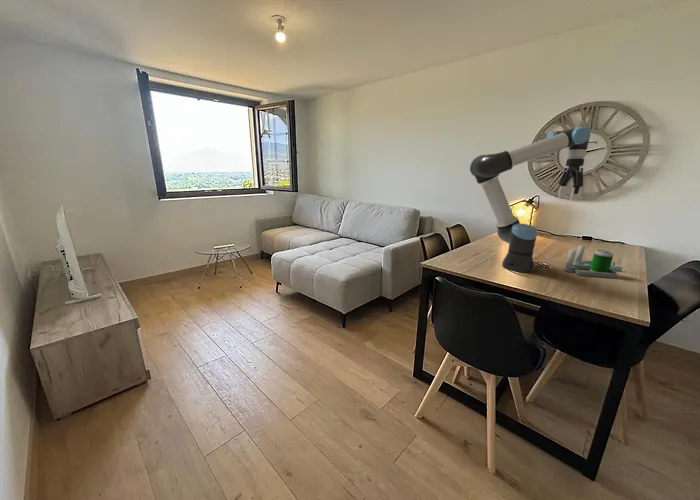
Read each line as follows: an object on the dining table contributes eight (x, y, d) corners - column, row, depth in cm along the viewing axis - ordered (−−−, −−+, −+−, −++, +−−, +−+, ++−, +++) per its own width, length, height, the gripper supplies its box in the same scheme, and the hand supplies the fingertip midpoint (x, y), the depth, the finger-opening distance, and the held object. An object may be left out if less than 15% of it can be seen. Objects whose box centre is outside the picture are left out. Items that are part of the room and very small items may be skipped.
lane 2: (577, 267, 159) (582, 248, 156) (569, 262, 168) (573, 244, 165) (621, 270, 155) (627, 250, 152) (610, 265, 164) (616, 246, 161)
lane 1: (569, 274, 149) (574, 253, 146) (558, 266, 160) (562, 247, 157) (616, 277, 145) (622, 256, 142) (601, 270, 156) (607, 250, 153)
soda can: (611, 276, 147) (617, 254, 144) (594, 275, 148) (600, 253, 145) (602, 271, 154) (607, 250, 151) (586, 270, 156) (591, 249, 152)
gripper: (598, 157, 140) (587, 201, 146) (571, 159, 163) (563, 197, 169) (580, 157, 141) (570, 201, 147) (556, 159, 165) (549, 196, 171)
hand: (566, 198), depth 158 cm, fingers open, 13 cm apart
